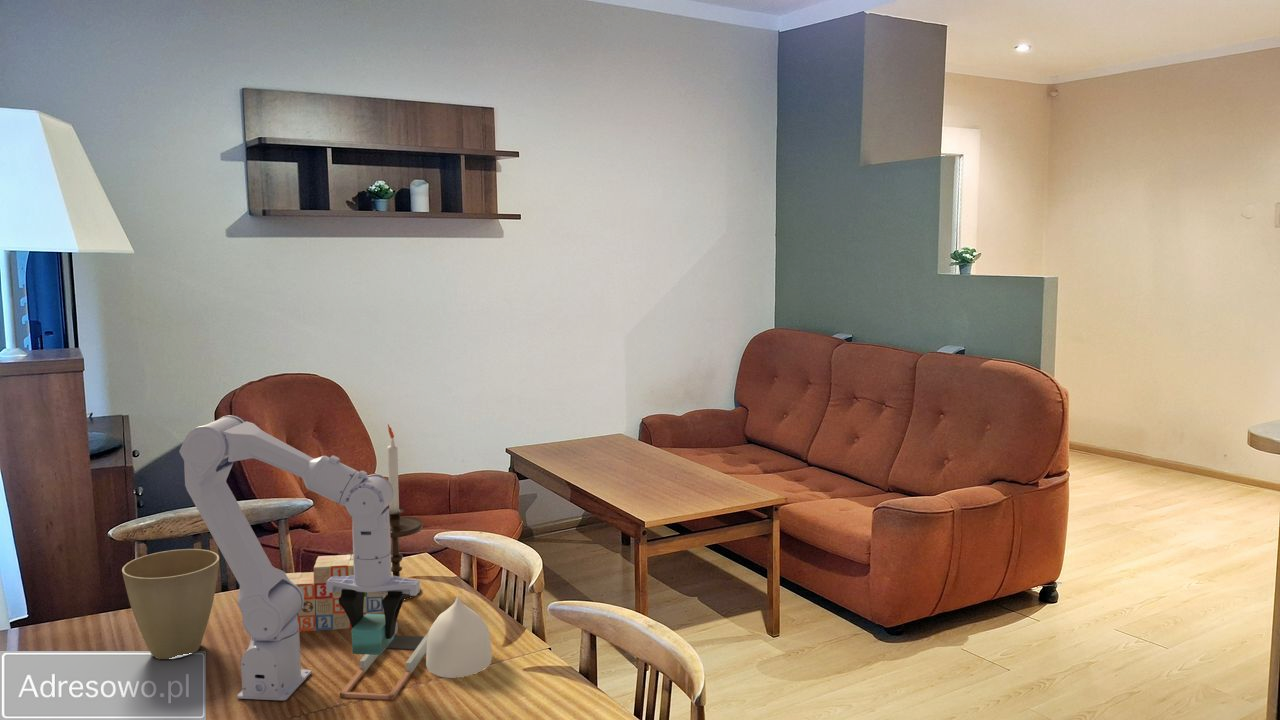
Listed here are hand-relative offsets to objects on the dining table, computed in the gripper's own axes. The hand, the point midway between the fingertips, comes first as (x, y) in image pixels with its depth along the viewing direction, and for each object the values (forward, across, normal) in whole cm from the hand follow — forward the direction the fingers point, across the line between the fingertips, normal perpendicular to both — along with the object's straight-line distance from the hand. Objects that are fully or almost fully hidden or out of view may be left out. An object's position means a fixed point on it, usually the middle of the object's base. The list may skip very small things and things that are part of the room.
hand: (374, 635), depth 145 cm
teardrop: (+9, -11, -9) cm, 17 cm away
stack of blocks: (+9, +18, -22) cm, 30 cm away
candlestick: (+9, +10, -38) cm, 40 cm away
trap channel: (+8, 0, -8) cm, 11 cm away
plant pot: (+9, +39, -9) cm, 41 cm away
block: (+1, 0, +1) cm, 2 cm away
